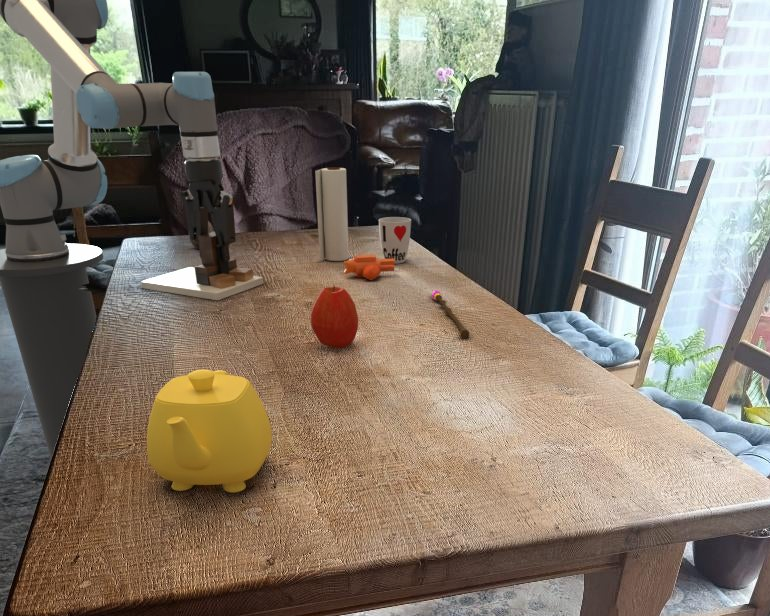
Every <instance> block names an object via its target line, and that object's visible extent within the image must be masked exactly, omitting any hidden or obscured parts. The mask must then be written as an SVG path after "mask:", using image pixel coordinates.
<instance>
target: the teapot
mask: <svg viewBox="0 0 770 616" xmlns="http://www.w3.org/2000/svg"><path fill="white" fill-rule="evenodd" d="M146 430H147V432H146V453H147V460H148V463H149V465H150V467H151V468H152V469H153V470H154V471H155V472H156V474H158V475H159V476H160V477H161V478H163V479H165V480H167V481H171V482H172V485H171V489H172V490H174V491H179V492H180V491H182V492H183V491H187V490H189V489H191V488H193V487H194V486H195V485H197V486H212V485H213V486H214V485H222V486H223V490H224V491H225V492H227V493H239V492H241V491H244V490H245V489H246V487H247V485H246V482H245V481H247V480H249V479H252V478H253V477H255V475H256V474H257V473H258V472H259V471H260V469H261V468H262V465H263V464H264V462H265V461H266V459H267V457H268V455H269V452H270V449H271V447H272V442H273V432H272V427H271V423H270V419H269V416H268V413H267V411H266V408H265V405H264V404H263V402H262V400H261V398H260V396H259V394H258V393H257V391H256V390H255V387H254V386H253V384H252V383H251V382H250V380H248V379H247V377H246V378H245V377H243V376H239V375H233V374H230V373H229V372H227V371H225V370H222V369H221V370H219V369H218V370H214V371H213V370H210V369H197V370H192V371H191V372H189V373H188V374H186V375H180V376H176V377H173V378H172V379H170V380H169V381H168V382H167V383H166V384H165V385H164V386H163V387H161V389H160V390H159V391H158V393H157V394H156V395H155V398H154V402H153V404H152V407H151V412H150V415H149V419H148V425H147V429H146Z"/></svg>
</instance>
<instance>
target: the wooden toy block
mask: <svg viewBox="0 0 770 616" xmlns="http://www.w3.org/2000/svg"><path fill="white" fill-rule="evenodd" d="M198 237H199V244H200V251H199V253H200V252H201V257H200V260H201V264H199V265H195V266H194V268H195V274H196V281H197V284H202V285H208V286H209V285H210V282H209V276H214V275H218V274H219V271H218V263H217V255H216V245H217V244H218V242H217V238H216V234H215V231H214V232H211V233H207V234H203V235H199V236H198ZM228 264H229V271H231V270H233V269H235V268H238V265H237V259H236V258H230V260H229V261H228Z"/></svg>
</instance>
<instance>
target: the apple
mask: <svg viewBox="0 0 770 616" xmlns="http://www.w3.org/2000/svg"><path fill="white" fill-rule="evenodd" d="M310 325H311V330H312V331H313V333H314V335H315V337H316V338H317V340H318V341H319V343H320V344H321V345H324V346H326V347H329V348H334V349H342V348H345V347H348V346H351V345H352V343H353V342H354V341H355V338H356V337H357V333H358V330H359V316H358V311H357V307H356V304H355V302H354V300H353V298H352V297H351V295H350V293H349V292H348V291H347V290H346V289H344V287H339V286H338V287H337V286H336V285H335V284H333V286H329V287H324V288H323V289H322V290H321V291H320V292H319V294H318V296H317V298H315V301H314V303H313V306H312V308H311V311H310Z"/></svg>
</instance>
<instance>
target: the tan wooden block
mask: <svg viewBox="0 0 770 616" xmlns="http://www.w3.org/2000/svg"><path fill="white" fill-rule="evenodd" d="M229 275H232V276H235V281H242V282H246V281H248V280H250V279H252V278H253V276H254V270H253V268H251V267H250V268H248V267H237V268H235V269H233V270H231V271H229Z"/></svg>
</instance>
